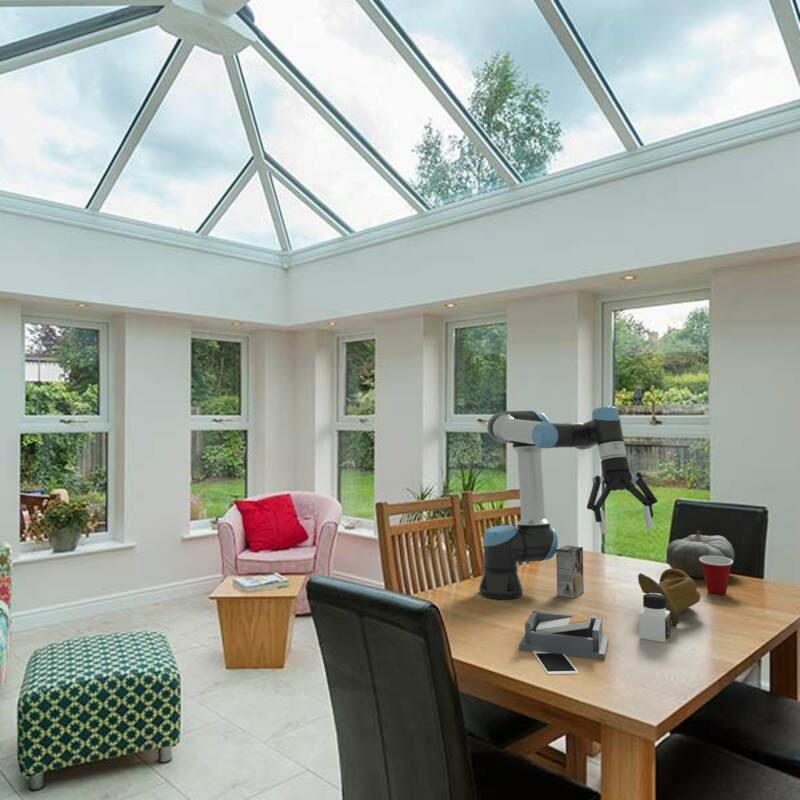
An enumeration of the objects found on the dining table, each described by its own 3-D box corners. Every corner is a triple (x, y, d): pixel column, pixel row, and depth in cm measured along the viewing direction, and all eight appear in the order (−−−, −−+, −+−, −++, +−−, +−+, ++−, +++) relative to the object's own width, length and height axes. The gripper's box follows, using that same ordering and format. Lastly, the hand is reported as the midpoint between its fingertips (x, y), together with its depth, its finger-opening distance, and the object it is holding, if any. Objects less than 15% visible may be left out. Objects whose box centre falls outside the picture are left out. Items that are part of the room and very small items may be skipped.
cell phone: (561, 652, 178) (561, 649, 178) (579, 675, 162) (579, 673, 162) (532, 653, 178) (532, 650, 178) (547, 676, 162) (547, 673, 162)
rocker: (536, 635, 181) (535, 628, 181) (541, 627, 187) (539, 621, 188) (588, 627, 176) (586, 621, 176) (591, 620, 183) (589, 613, 183)
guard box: (519, 649, 179) (518, 623, 179) (528, 633, 192) (528, 609, 192) (604, 660, 171) (604, 632, 171) (608, 642, 184) (608, 617, 184)
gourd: (748, 567, 261) (739, 524, 261) (724, 589, 244) (714, 543, 244) (685, 564, 280) (677, 523, 279) (659, 584, 263) (650, 541, 262)
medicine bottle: (666, 643, 183) (665, 599, 184) (639, 638, 187) (638, 595, 187) (670, 635, 189) (670, 593, 190) (644, 631, 193) (644, 590, 193)
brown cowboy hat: (601, 583, 212) (653, 558, 227) (620, 634, 209) (672, 605, 224) (659, 575, 193) (712, 548, 209) (681, 631, 190) (733, 599, 206)
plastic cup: (700, 595, 231) (699, 560, 231) (699, 588, 241) (698, 554, 241) (735, 598, 227) (734, 563, 227) (732, 590, 237) (732, 556, 237)
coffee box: (567, 589, 240) (566, 545, 241) (584, 592, 236) (583, 547, 237) (556, 595, 233) (555, 549, 233) (573, 598, 229) (573, 551, 229)
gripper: (576, 459, 191) (589, 534, 185) (659, 452, 194) (674, 526, 188) (568, 464, 198) (580, 536, 193) (648, 457, 201) (662, 528, 195)
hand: (627, 531), depth 190 cm, fingers open, 13 cm apart
